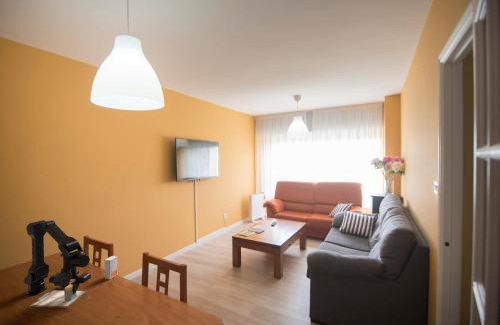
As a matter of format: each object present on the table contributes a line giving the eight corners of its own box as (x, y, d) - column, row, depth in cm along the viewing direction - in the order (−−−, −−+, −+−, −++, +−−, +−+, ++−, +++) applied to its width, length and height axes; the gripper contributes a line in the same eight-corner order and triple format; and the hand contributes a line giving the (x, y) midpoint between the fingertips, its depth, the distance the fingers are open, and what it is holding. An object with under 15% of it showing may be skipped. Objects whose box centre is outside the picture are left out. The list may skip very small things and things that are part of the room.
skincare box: (110, 279, 142) (110, 260, 141) (104, 278, 143) (104, 259, 142) (117, 274, 148) (117, 256, 147) (112, 274, 148) (111, 255, 148)
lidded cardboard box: (64, 300, 121) (64, 288, 120) (70, 296, 124) (69, 284, 124) (71, 300, 120) (70, 288, 120) (76, 296, 124) (76, 284, 124)
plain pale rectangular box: (57, 288, 132) (57, 284, 132) (61, 285, 135) (61, 281, 135) (71, 287, 133) (71, 283, 133) (74, 284, 136) (74, 280, 136)
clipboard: (28, 306, 116) (28, 304, 116) (53, 290, 130) (53, 288, 130) (67, 307, 115) (67, 305, 115) (87, 291, 129) (87, 289, 129)
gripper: (38, 271, 114) (39, 302, 115) (75, 272, 113) (75, 303, 114) (58, 261, 125) (58, 289, 126) (91, 262, 125) (91, 290, 125)
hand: (70, 293), depth 122 cm, fingers open, 4 cm apart
